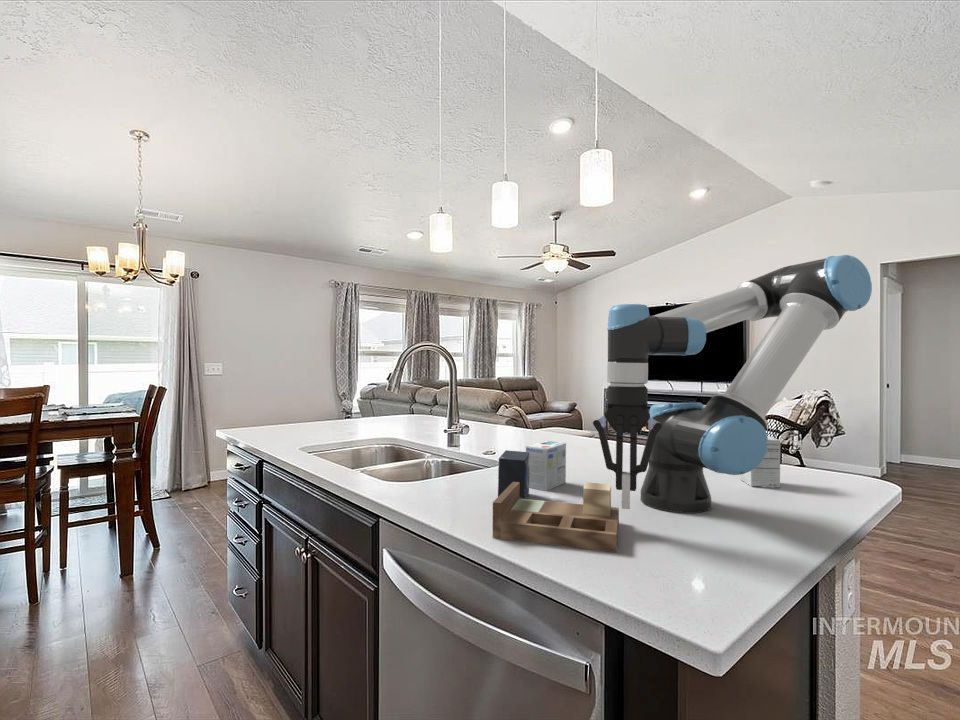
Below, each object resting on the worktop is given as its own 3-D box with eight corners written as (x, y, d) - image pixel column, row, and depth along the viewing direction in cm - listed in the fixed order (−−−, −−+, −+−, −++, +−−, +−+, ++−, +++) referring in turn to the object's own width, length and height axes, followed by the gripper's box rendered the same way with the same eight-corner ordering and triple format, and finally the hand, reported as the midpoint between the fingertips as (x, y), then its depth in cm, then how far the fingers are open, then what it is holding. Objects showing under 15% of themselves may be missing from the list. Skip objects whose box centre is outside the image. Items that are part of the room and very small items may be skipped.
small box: (525, 506, 111) (525, 459, 110) (496, 504, 112) (497, 458, 112) (530, 493, 121) (530, 450, 121) (504, 492, 122) (504, 449, 122)
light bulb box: (544, 479, 136) (544, 439, 135) (566, 482, 132) (567, 442, 132) (524, 487, 127) (524, 445, 127) (547, 491, 123) (548, 448, 123)
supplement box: (739, 480, 136) (739, 434, 136) (768, 481, 135) (768, 435, 134) (750, 487, 128) (750, 438, 128) (781, 488, 127) (781, 439, 127)
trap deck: (618, 522, 100) (619, 490, 100) (616, 552, 84) (616, 514, 84) (512, 511, 106) (512, 481, 106) (492, 537, 91) (492, 502, 91)
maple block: (610, 509, 99) (611, 484, 99) (609, 516, 94) (609, 490, 94) (585, 506, 100) (585, 482, 100) (583, 514, 95) (583, 488, 95)
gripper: (661, 384, 97) (660, 504, 97) (594, 383, 101) (592, 498, 101) (664, 386, 90) (662, 516, 90) (591, 384, 94) (589, 509, 94)
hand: (625, 506), depth 95 cm, fingers closed
